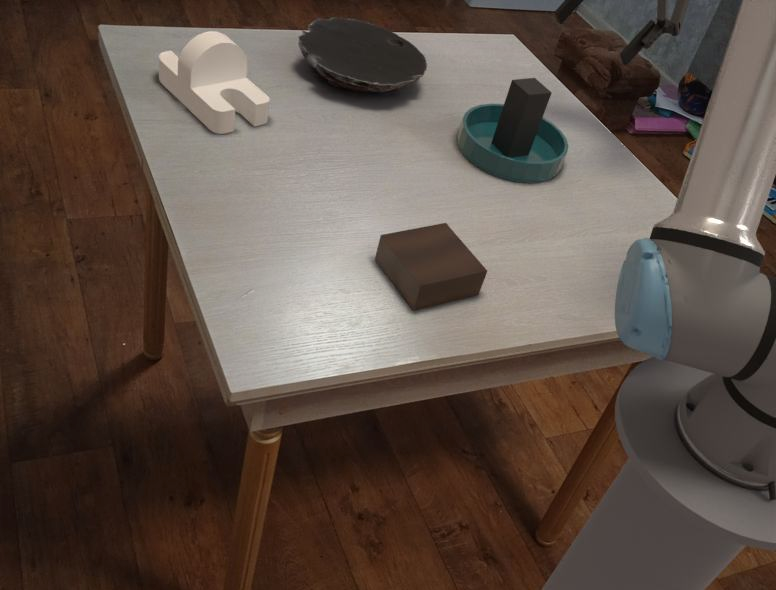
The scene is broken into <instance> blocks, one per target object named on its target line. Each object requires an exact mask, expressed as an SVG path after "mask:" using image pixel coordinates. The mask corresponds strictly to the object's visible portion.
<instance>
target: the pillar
mask: <svg viewBox="0 0 776 590" xmlns="http://www.w3.org/2000/svg"><path fill="white" fill-rule="evenodd" d="M552 94H553V93H552V91H551V90H550V89H548V88H547V86H545V85H544V84H543V83H542V82H540V81H539V80H538V79H537V78H536V77H528V78H527V77H526V78H518V79H512V80H511V82H510V85H509V88H508V91H507V94H506V97H505V101H504V103H503V104H504V106H503V109H502V112H501V115H500V118H499V121H498V124H497V127H496V130H495V133H494V136H493V139H492V144H493V145H494V146H495V147H496V148H497V149H498V150H499V151H500V152H501V153H502V154H503V155H504V156H507V157H517V156H524V155H529V153H530V150H531V148H532V145H533V142H534V139H535V137H536V134H537V131H538V129H539V126H540V123H541V120H542V118H543V117H544V115H545V112H546V109H547V107H548V104H549V101H550V98H551V97H552Z"/></svg>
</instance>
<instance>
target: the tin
mask: <svg viewBox="0 0 776 590" xmlns="http://www.w3.org/2000/svg"><path fill="white" fill-rule="evenodd" d="M503 106H504V103H483V104H479V105H475V106H473V107H471V108H469V109H468V110H467V111H465V113H464V115H463V116H462V120H461V123H460V126H459V130H458V133H457V138H456V139H457V140H456V141H457V146H458V149H459V150H460V152H461V154H462V155H463V156H464V157H465V158H466V159H467V161H469V162H470V163H472V165H474V166H475V167H477V168H479V169H480V170H482V171H483V172H486V173H487V174H489V175H492V176H493V177H497V178H500V179H503V180H507V181H511V182H515V183H516V182H517V183H523V184H525V183H527V184H535V183H541V182H546V181H549V180H551V179H553V178H554V177H556V176H557V175H558V174H559V172H560V170H561V169H562V166H563V164H564V161H565V159H566V156H567V154H568V152H569V144H568V139H567V137H566V136H565V134H564V133H563V132H562V130H561V129H560V128H559V127H558V126H556V125H555V124H554V123H553V122H552V121H550V120H548V119H547V118H546V117H544V116H543V118H542V120H541V123H540V126H539V129H538V131H537V134H536V137H535V139H534V142H533V145H532V148H531V150H530V153H529V155H524V156H517V157H507V156H504V155H503V154H502V153H501V152H500V151H499V150H498V149H497V148H496V147H495V146H494V145H493V144H492V139H493V136H494V133H495V130H496V127H497V124H498V121H499V118H500V115H501V112H502V109H503Z"/></svg>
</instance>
